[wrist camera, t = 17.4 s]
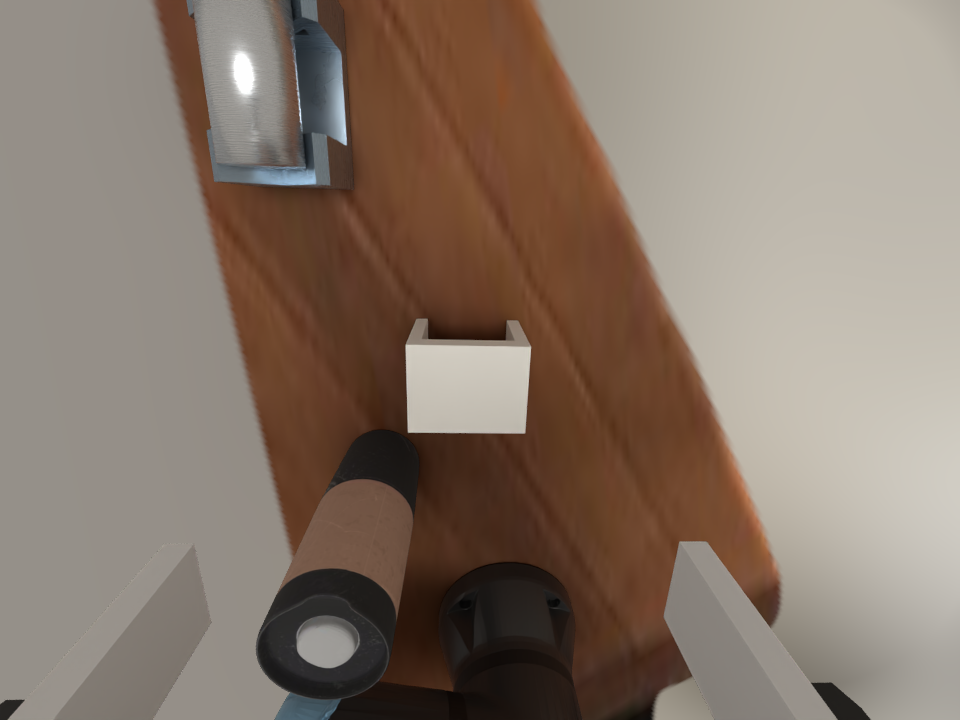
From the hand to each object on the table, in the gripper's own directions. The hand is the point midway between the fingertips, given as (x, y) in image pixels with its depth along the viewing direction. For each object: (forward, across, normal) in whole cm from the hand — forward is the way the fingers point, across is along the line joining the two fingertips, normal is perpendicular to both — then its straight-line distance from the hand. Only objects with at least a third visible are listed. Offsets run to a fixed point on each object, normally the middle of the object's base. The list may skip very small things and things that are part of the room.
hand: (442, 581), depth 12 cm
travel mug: (+29, +7, +14) cm, 33 cm away
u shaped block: (+29, -1, +3) cm, 29 cm away
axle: (+23, +11, -17) cm, 31 cm away
